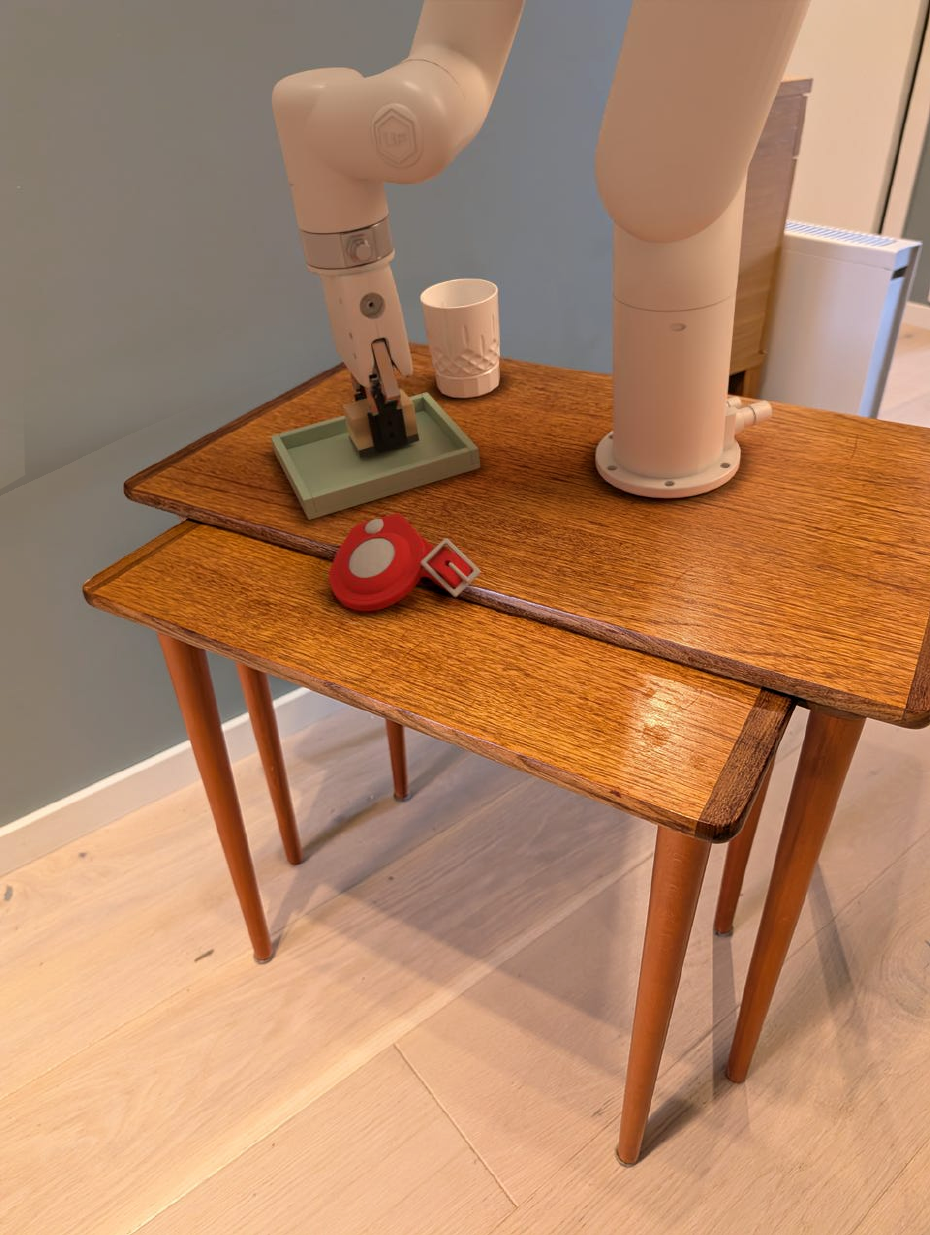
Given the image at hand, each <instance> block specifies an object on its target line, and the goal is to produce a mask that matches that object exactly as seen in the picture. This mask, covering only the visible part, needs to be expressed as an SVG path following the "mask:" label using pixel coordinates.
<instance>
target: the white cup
mask: <svg viewBox="0 0 930 1235" xmlns="http://www.w3.org/2000/svg"><path fill="white" fill-rule="evenodd" d="M419 301H420V306H421V307H420V308H421V312H422V317H423V322H424V323H423V324H424V327H425V333H426V340H427V344H428V349H429V352H430V358H431V362H432V366H433V369H434V374H435V376H434V377H435V379H436V380H435V381H436V387H437V389H438V390H439V392H440V393H441V394H442V395H445V396H447V397H450V398H455V399H456V398H457V399H470V398H476V397H481V396H484V395H487V394H489V393H491V392H492V391H494V390H495V389H496V388H498V386H499V384H500V379H501V373H500V370H501V369H500V358H501V352H500V348H501V343H500V342H501V340H500V339H501V337H500V335H501V334H500V316H499V315H500V313H499V311H500V310H499V288H498V286H497V285H496V284H495V283H494V282H492V281H489V280H486V279H481V278H457V279H450V280H446V281H442V282H439V283H436V284H433V285H431V286H429V287H427V288H426V289H425V290H423V291H422V292H421V294H420V295H419Z"/></svg>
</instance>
